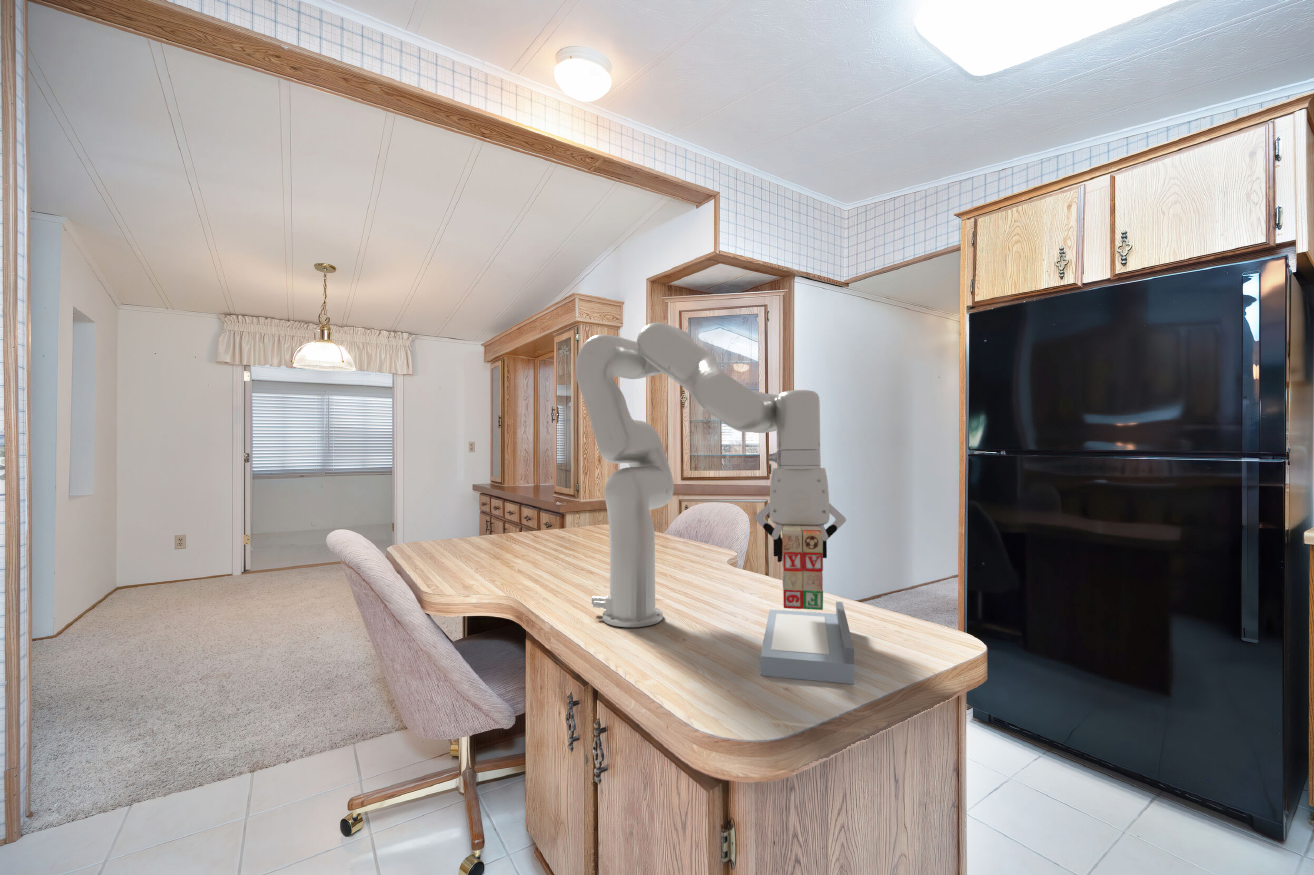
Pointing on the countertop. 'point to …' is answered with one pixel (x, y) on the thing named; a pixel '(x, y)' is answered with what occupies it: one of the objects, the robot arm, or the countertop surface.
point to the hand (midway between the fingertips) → (800, 560)
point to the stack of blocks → (802, 567)
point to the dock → (808, 646)
